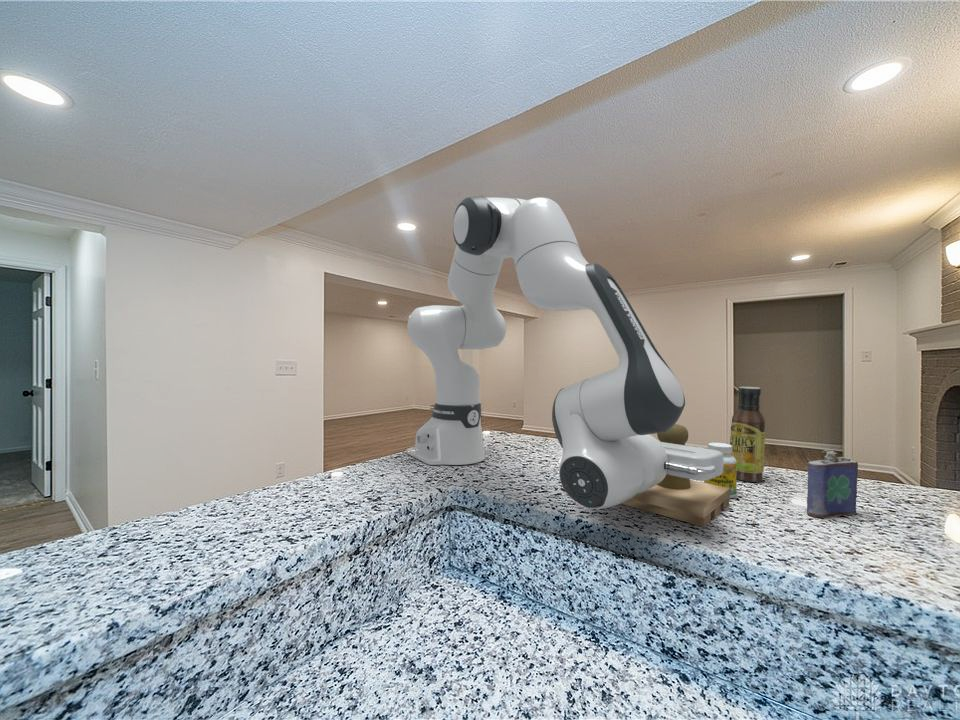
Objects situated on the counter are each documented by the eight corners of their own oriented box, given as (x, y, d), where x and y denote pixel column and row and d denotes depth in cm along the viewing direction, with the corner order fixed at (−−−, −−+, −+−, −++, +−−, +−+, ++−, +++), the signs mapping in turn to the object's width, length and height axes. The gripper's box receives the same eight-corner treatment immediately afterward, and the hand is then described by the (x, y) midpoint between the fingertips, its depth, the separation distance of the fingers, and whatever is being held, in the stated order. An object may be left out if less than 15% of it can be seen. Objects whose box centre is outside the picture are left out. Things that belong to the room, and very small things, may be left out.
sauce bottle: (722, 476, 90) (723, 386, 89) (740, 473, 92) (741, 385, 92) (752, 485, 84) (754, 388, 84) (771, 481, 87) (772, 387, 86)
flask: (817, 519, 67) (818, 453, 67) (799, 512, 70) (800, 449, 69) (861, 514, 69) (862, 451, 68) (842, 508, 71) (843, 447, 71)
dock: (608, 501, 75) (608, 484, 75) (642, 484, 84) (642, 469, 84) (703, 528, 63) (703, 508, 63) (729, 504, 73) (730, 488, 73)
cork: (697, 489, 72) (697, 427, 72) (662, 489, 72) (663, 427, 72) (681, 479, 78) (681, 421, 78) (649, 479, 78) (649, 421, 78)
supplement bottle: (732, 491, 80) (733, 442, 80) (739, 500, 75) (740, 448, 75) (701, 488, 82) (702, 440, 82) (706, 497, 77) (706, 446, 77)
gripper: (708, 452, 57) (736, 438, 66) (580, 432, 71) (618, 423, 81) (708, 497, 57) (735, 476, 67) (580, 467, 72) (618, 454, 81)
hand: (670, 447), depth 74 cm, fingers open, 8 cm apart
